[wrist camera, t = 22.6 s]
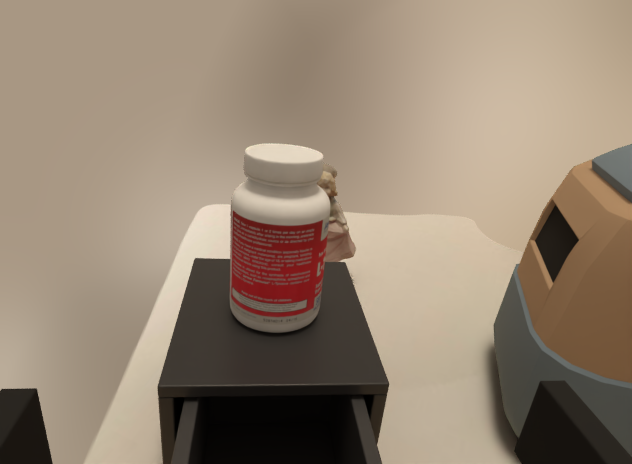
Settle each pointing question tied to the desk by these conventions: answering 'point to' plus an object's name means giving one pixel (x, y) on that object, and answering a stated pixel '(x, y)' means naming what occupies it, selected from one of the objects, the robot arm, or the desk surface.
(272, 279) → the pill bottle
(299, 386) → the small cabinet
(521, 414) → the tan rounded box
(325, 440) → the drawer
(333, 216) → the figurine
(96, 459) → the desk surface
